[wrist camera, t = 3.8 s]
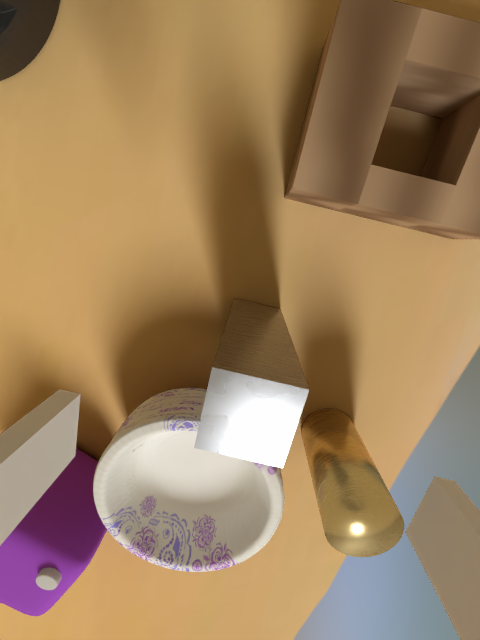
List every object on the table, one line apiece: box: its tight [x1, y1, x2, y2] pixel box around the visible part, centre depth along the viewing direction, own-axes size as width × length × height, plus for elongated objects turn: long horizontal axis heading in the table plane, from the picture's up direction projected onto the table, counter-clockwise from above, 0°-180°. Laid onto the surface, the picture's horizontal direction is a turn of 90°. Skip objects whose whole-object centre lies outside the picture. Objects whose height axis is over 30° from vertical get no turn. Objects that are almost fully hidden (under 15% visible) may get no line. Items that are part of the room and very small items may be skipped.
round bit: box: [301, 409, 404, 557], centre depth 24 cm, size 5×5×10 cm
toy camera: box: [0, 448, 107, 616], centre depth 28 cm, size 11×14×10 cm
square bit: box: [194, 298, 309, 468], centre depth 19 cm, size 4×4×14 cm
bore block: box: [285, 0, 480, 239], centre depth 19 cm, size 14×10×5 cm
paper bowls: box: [93, 387, 285, 572], centre depth 26 cm, size 15×15×8 cm
